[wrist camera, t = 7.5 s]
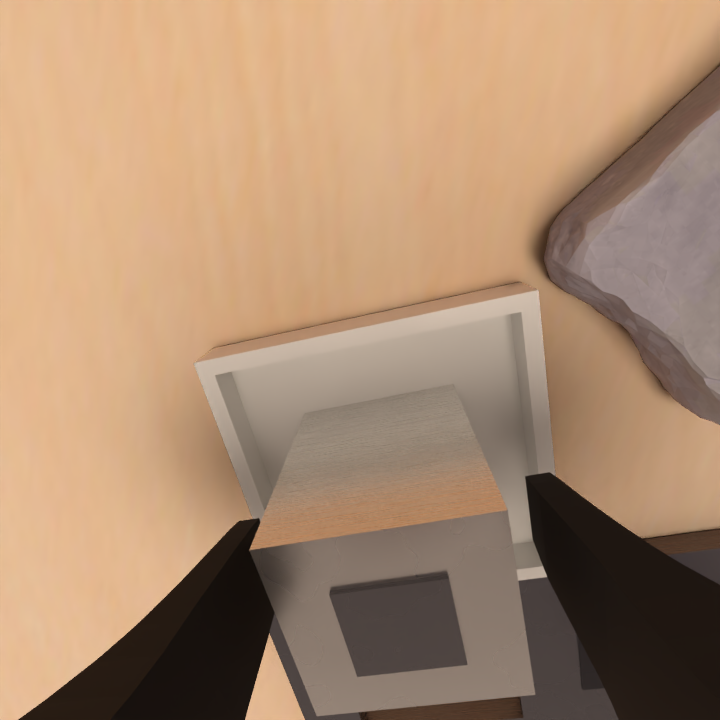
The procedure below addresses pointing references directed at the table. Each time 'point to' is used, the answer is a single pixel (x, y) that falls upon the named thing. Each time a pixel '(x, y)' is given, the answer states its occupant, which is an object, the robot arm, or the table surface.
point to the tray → (396, 388)
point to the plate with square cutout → (533, 655)
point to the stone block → (656, 248)
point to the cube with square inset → (394, 559)
